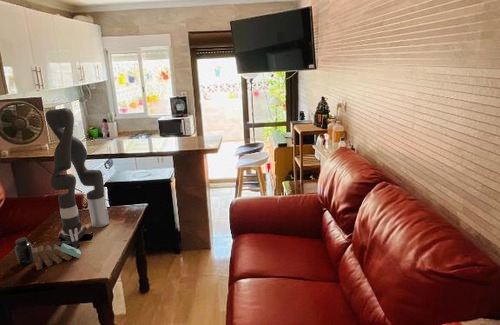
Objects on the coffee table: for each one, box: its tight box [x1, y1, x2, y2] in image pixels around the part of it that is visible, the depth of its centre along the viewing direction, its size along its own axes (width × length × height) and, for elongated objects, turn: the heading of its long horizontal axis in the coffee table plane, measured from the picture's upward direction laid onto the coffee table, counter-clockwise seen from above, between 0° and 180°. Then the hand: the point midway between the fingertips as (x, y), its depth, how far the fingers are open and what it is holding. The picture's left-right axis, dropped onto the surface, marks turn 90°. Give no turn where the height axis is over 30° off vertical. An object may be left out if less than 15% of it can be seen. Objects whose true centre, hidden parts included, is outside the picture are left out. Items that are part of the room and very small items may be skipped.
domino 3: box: [43, 244, 63, 265], centre depth 173 cm, size 2×5×9 cm
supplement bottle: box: [14, 236, 35, 266], centre depth 174 cm, size 7×7×12 cm
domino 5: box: [59, 243, 82, 259], centre depth 177 cm, size 2×5×9 cm
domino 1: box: [32, 246, 43, 271], centre depth 169 cm, size 2×5×9 cm, turn 32°
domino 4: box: [51, 243, 73, 262], centre depth 175 cm, size 2×5×9 cm
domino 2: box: [37, 245, 54, 268], centre depth 171 cm, size 2×5×9 cm, turn 30°
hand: (76, 246), depth 178 cm, fingers closed
